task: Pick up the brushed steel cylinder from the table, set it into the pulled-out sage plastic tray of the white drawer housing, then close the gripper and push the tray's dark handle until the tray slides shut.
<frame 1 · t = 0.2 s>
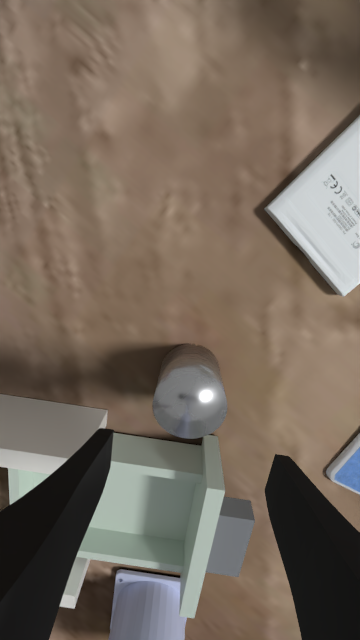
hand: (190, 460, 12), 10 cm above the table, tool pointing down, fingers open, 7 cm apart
brushed steel cylinder: (190, 370, 21), on the table
white drawer housing: (35, 468, 25), on the table
tray: (127, 512, 22), point 3 cm above the table, slide at 8.0 cm
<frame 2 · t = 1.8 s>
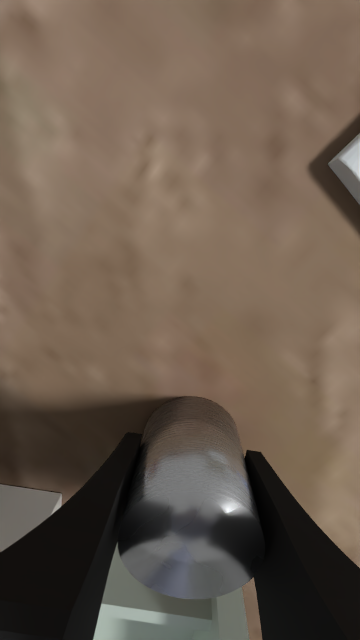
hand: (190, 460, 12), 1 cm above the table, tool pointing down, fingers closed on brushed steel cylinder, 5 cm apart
brushed steel cylinder: (190, 438, 13), on the table, touching gripper
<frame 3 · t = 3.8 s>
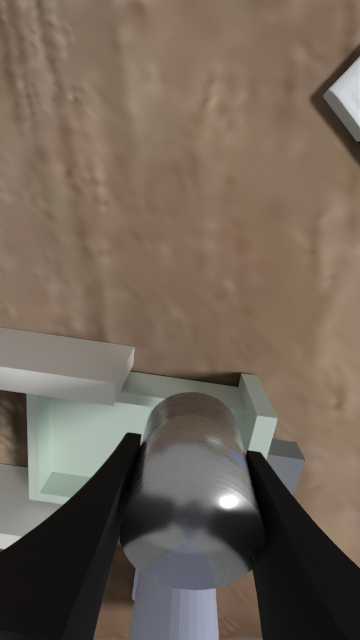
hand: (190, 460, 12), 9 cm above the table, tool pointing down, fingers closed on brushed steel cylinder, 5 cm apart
brushed steel cylinder: (191, 433, 13), point 8 cm above the table, touching gripper
white drawer housing: (53, 416, 23), on the table
tray: (158, 458, 20), point 3 cm above the table, slide at 8.0 cm
when the fingers open (4 cm above the table, at t = 5.9 s): brushed steel cylinder stays where it is, resting on tray.
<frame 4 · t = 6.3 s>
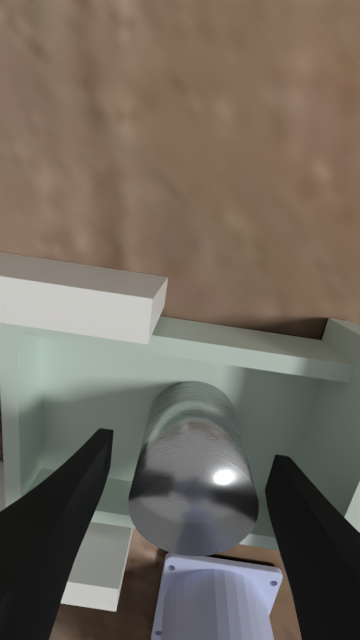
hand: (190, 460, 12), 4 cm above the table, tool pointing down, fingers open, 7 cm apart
brushed steel cylinder: (192, 419, 14), point 1 cm above the table, touching tray
white drawer housing: (45, 387, 16), on the table
tray: (204, 446, 13), point 3 cm above the table, slide at 8.0 cm, touching brushed steel cylinder
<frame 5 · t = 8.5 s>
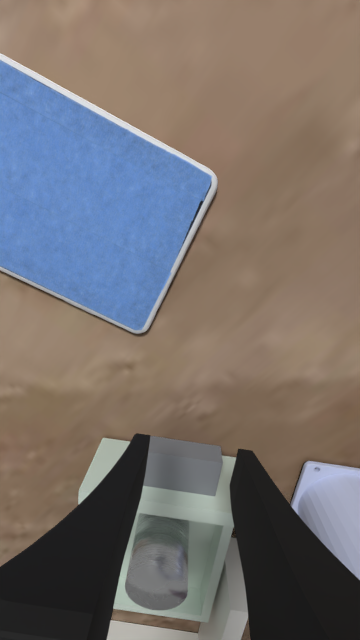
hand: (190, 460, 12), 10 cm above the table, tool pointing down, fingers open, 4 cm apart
tablet computer: (59, 201, 19), on the table
brushed steel cylinder: (163, 521, 24), point 1 cm above the table, touching tray
white drawer housing: (156, 571, 28), on the table
tray: (164, 534, 23), point 3 cm above the table, slide at 8.0 cm, touching brushed steel cylinder
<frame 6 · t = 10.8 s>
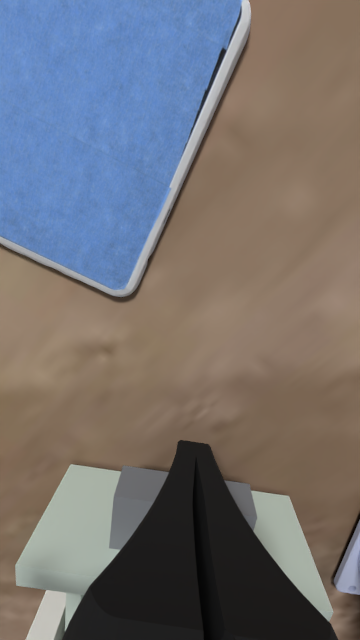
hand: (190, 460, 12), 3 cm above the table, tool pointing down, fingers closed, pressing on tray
white drawer housing: (152, 636, 20), on the table
tray: (161, 609, 15), point 3 cm above the table, slide at 7.4 cm, touching gripper, brushed steel cylinder
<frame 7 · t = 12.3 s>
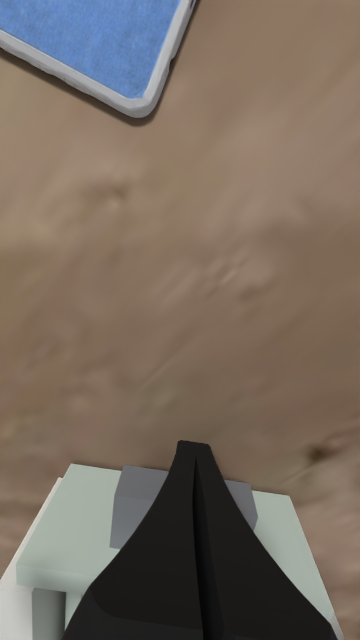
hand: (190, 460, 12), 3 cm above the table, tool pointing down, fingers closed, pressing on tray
white drawer housing: (164, 566, 18), on the table
tray: (162, 609, 15), point 3 cm above the table, slide at -0.1 cm, touching gripper, brushed steel cylinder
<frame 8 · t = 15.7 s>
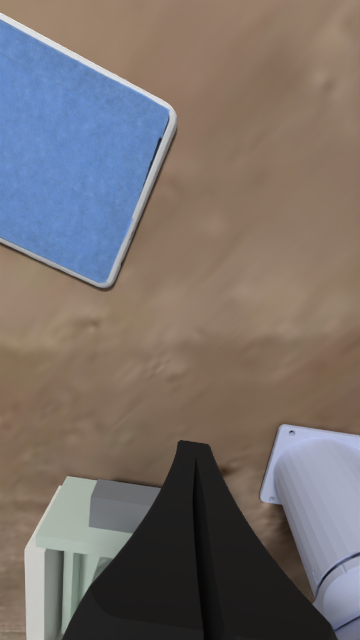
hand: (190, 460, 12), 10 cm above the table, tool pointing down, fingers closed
tablet computer: (15, 147, 18), on the table
white drawer housing: (130, 544, 27), on the table
tray: (124, 568, 24), point 3 cm above the table, slide at 0.0 cm, touching brushed steel cylinder
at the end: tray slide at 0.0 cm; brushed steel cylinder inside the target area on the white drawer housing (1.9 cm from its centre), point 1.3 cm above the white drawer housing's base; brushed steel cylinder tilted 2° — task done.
